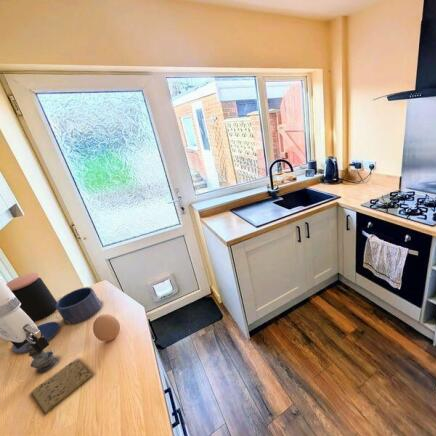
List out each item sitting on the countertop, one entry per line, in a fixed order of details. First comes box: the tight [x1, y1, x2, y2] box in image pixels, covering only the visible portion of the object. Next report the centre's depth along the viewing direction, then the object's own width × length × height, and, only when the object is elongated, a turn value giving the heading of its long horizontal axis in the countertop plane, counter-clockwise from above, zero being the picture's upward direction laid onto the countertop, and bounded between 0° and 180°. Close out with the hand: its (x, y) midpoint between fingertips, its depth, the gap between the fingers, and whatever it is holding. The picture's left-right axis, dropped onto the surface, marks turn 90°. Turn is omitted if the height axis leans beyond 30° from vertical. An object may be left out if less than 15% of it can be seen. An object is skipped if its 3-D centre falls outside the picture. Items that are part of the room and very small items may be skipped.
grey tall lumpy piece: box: [25, 342, 58, 374], centre depth 82 cm, size 6×6×12 cm
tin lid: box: [12, 321, 61, 354], centre depth 95 cm, size 14×14×6 cm
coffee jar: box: [5, 272, 58, 322], centre depth 105 cm, size 11×11×18 cm
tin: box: [55, 286, 102, 325], centre depth 105 cm, size 13×13×8 cm
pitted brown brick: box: [31, 359, 92, 414], centre depth 77 cm, size 12×12×1 cm
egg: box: [92, 313, 121, 342], centre depth 90 cm, size 8×8×11 cm
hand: (33, 346), depth 80 cm, fingers open, 9 cm apart
